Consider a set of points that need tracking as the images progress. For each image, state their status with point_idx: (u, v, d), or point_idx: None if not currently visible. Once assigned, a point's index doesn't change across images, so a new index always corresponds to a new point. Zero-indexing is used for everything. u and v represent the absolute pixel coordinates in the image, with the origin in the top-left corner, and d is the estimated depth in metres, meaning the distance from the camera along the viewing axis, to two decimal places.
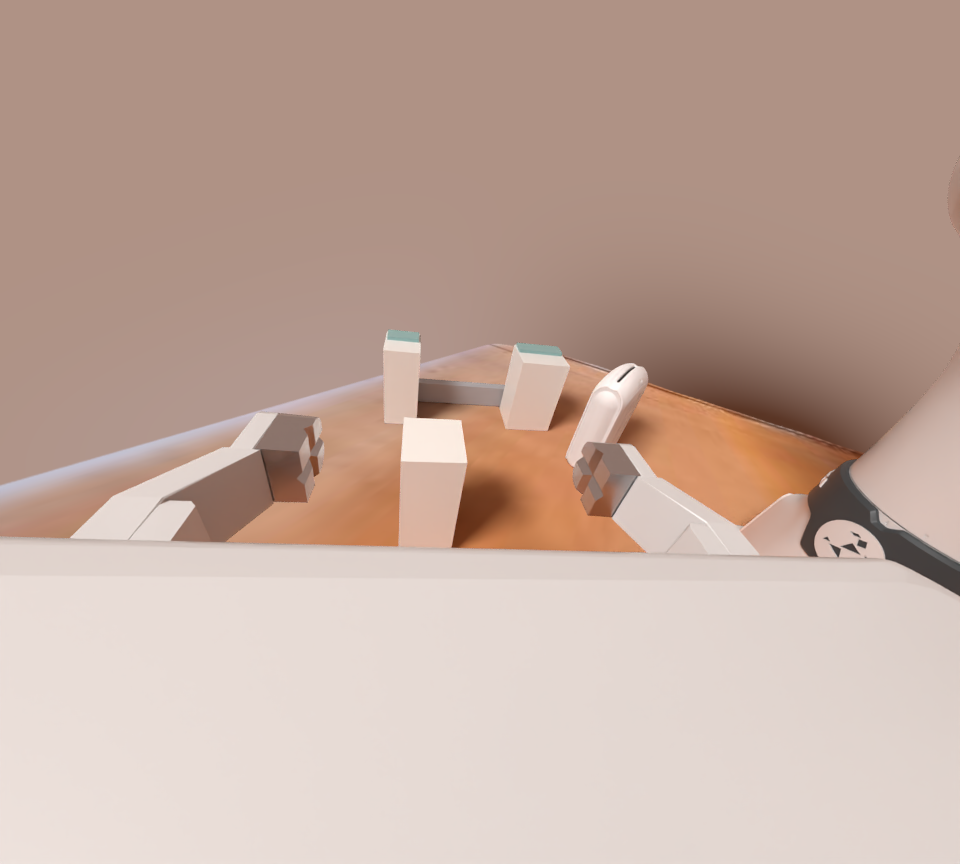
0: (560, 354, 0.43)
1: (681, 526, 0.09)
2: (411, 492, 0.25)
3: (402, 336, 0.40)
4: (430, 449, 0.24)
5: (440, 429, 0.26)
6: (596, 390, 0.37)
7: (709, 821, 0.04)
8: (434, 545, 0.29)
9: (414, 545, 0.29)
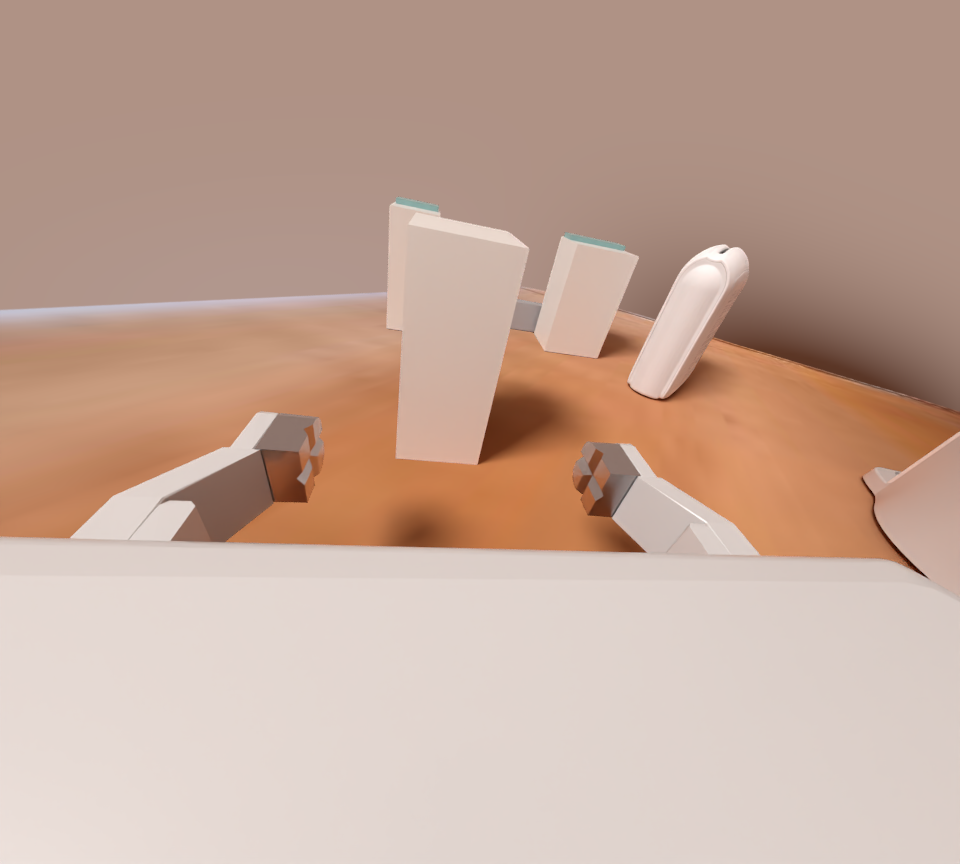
0: (623, 247, 0.33)
1: (681, 526, 0.09)
2: (423, 313, 0.14)
3: (416, 201, 0.29)
4: (461, 230, 0.13)
5: (476, 227, 0.15)
6: (687, 267, 0.26)
7: (709, 821, 0.04)
8: (454, 446, 0.18)
9: (422, 442, 0.18)
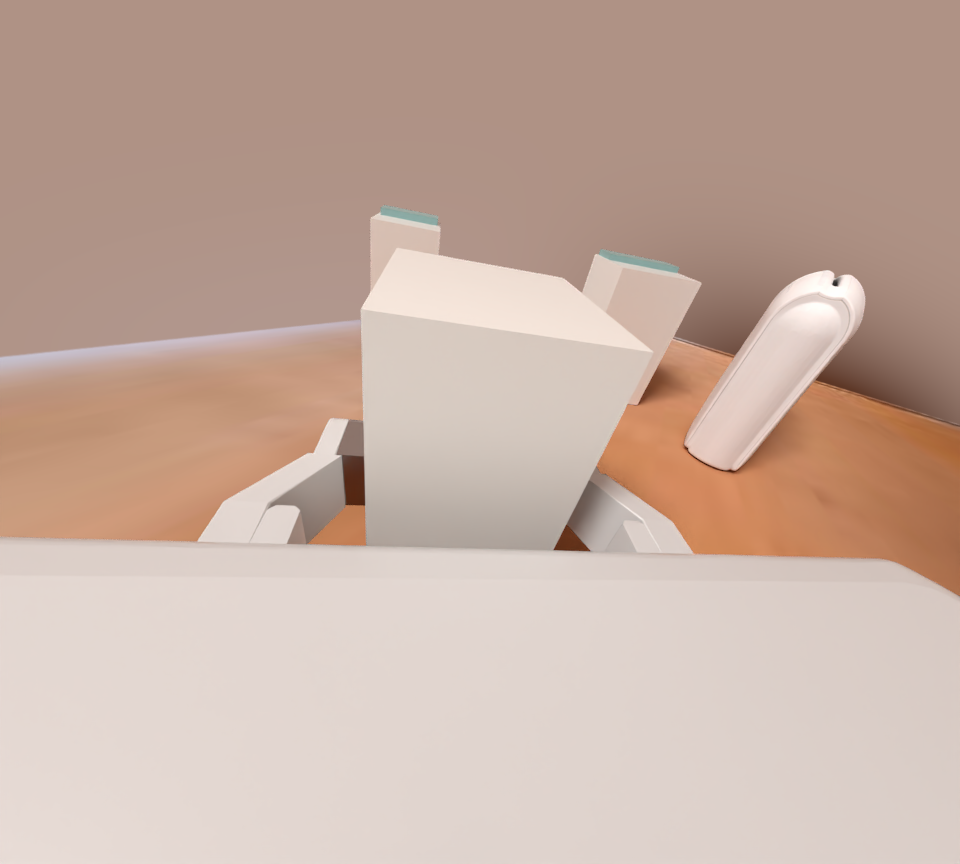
0: (675, 269, 0.25)
1: (620, 523, 0.08)
2: (408, 475, 0.07)
3: (408, 212, 0.22)
4: (491, 302, 0.06)
5: (511, 278, 0.08)
6: (786, 304, 0.19)
7: (708, 820, 0.04)
8: None
9: None
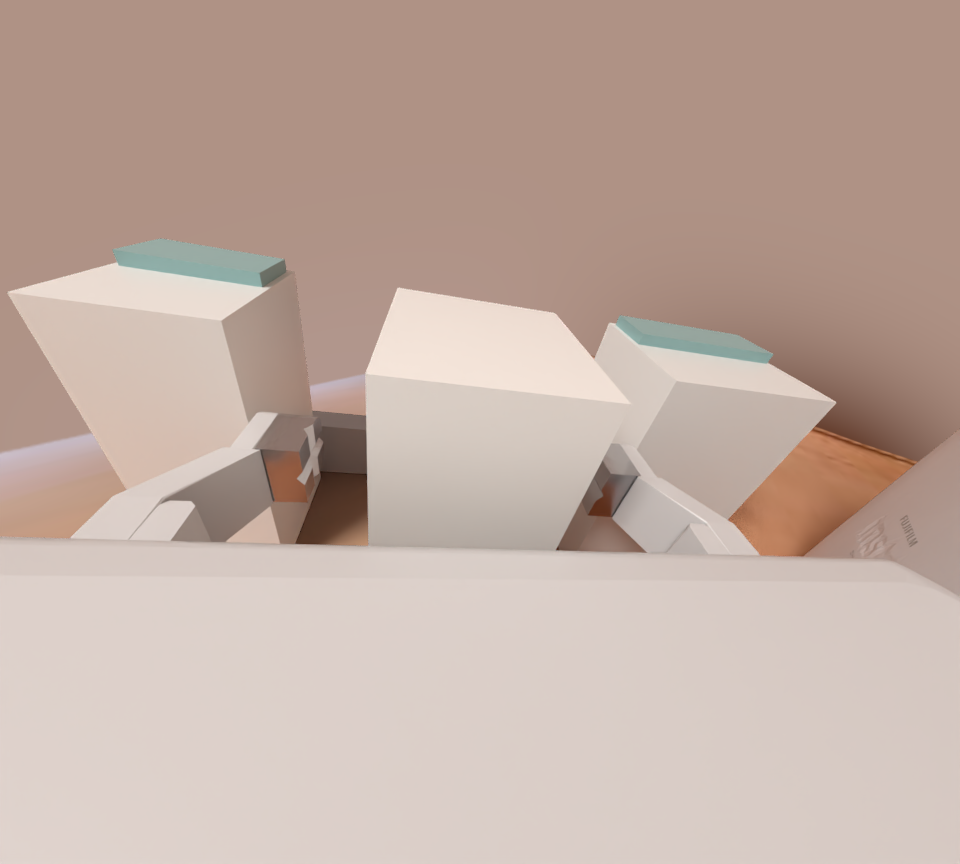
0: (766, 357, 0.13)
1: (681, 526, 0.09)
2: (408, 509, 0.07)
3: (192, 258, 0.10)
4: (484, 353, 0.07)
5: (504, 319, 0.09)
6: None
7: (709, 821, 0.04)
8: None
9: None
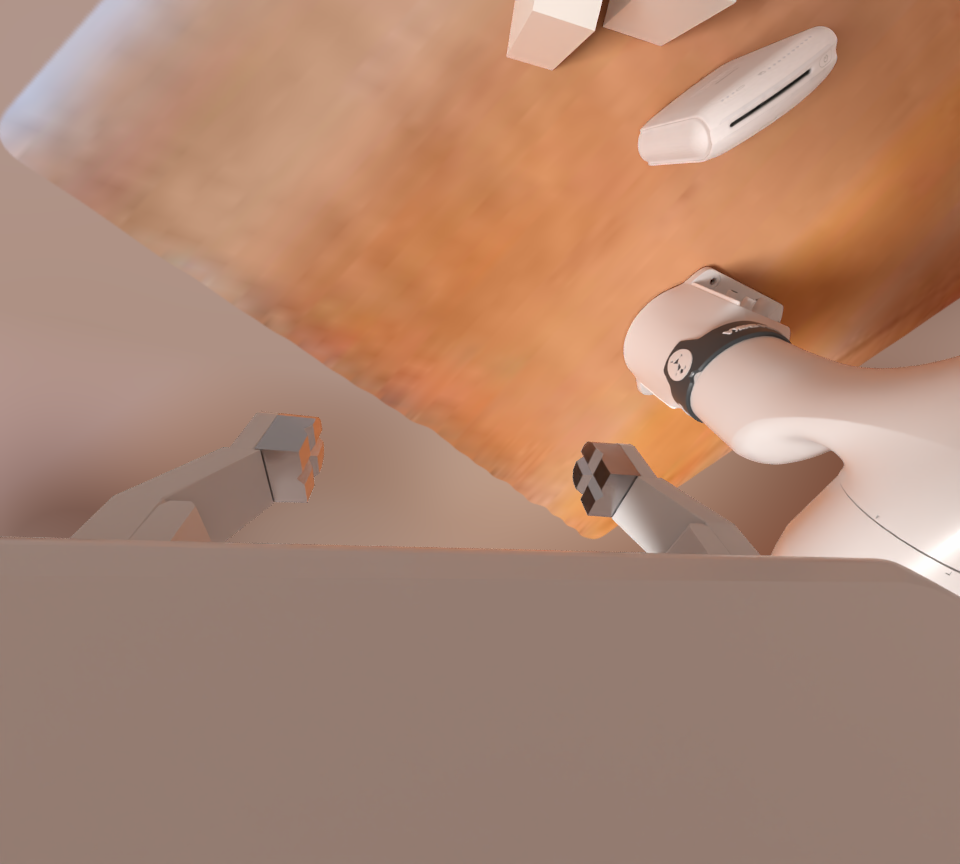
0: None
1: (681, 526, 0.09)
2: (533, 29, 0.25)
3: None
4: None
5: None
6: (700, 119, 0.27)
7: (710, 821, 0.04)
8: (540, 62, 0.31)
9: (522, 56, 0.31)
